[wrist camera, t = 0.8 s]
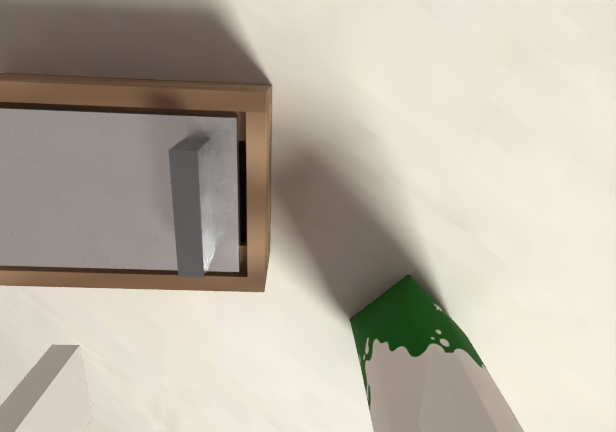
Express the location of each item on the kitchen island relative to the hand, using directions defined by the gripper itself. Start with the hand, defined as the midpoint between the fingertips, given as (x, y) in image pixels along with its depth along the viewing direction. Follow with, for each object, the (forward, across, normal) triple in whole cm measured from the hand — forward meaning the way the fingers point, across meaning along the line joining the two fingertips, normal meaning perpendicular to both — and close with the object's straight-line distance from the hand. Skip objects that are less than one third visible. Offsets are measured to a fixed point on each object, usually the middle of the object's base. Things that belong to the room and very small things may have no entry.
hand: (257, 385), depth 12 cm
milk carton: (+24, +12, -14) cm, 30 cm away
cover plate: (+18, -11, 0) cm, 21 cm away
